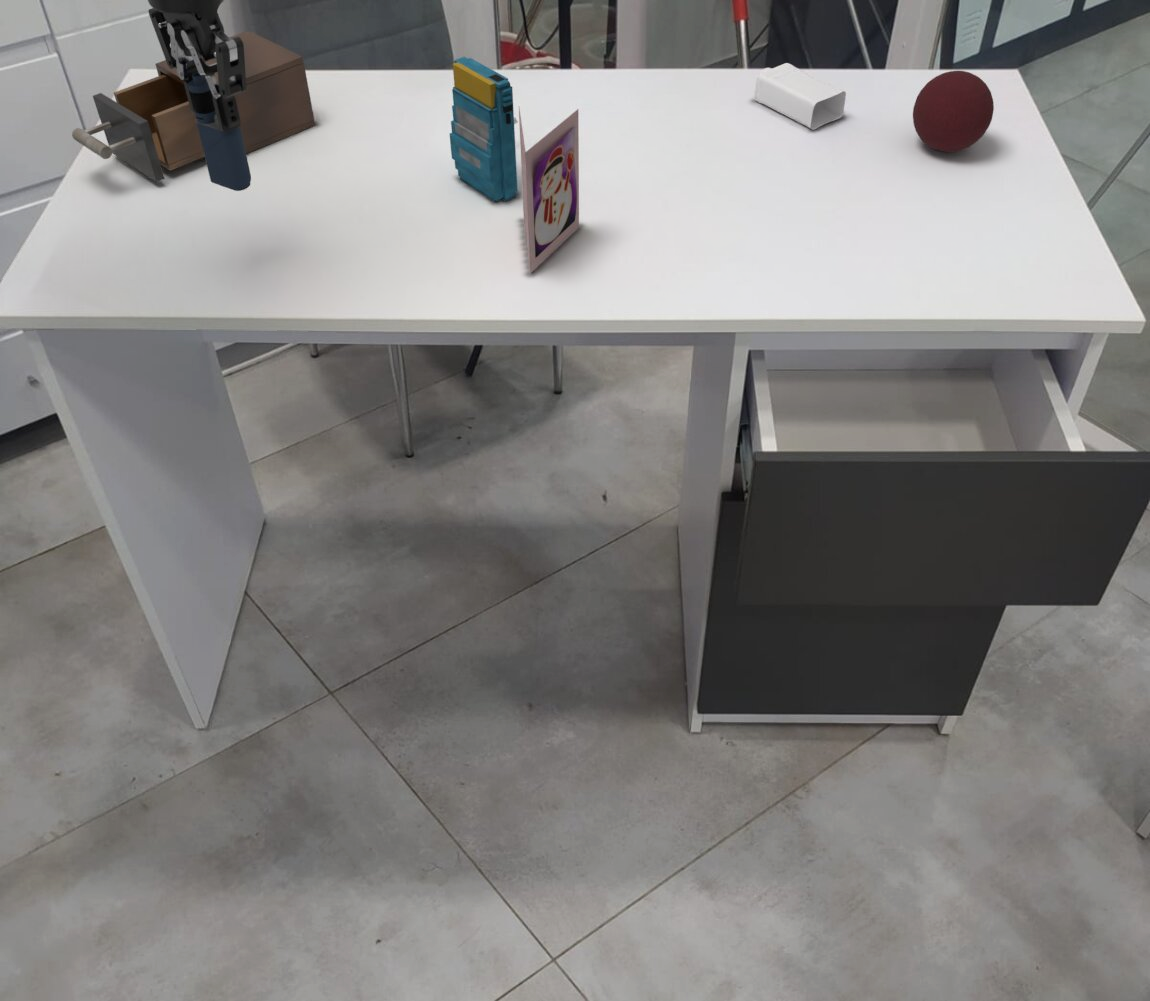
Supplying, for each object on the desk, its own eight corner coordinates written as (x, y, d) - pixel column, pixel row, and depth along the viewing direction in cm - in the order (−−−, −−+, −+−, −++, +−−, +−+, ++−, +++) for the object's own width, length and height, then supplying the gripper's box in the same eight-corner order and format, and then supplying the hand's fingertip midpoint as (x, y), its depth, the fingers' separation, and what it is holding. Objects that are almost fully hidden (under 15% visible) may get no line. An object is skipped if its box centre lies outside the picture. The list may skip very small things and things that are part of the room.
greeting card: (537, 275, 128) (532, 154, 117) (482, 258, 130) (473, 138, 120) (585, 228, 135) (585, 110, 124) (532, 213, 137) (528, 96, 127)
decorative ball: (994, 143, 149) (1014, 70, 142) (964, 173, 143) (984, 99, 136) (924, 123, 153) (941, 51, 146) (893, 151, 148) (908, 78, 141)
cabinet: (225, 163, 147) (208, 92, 140) (174, 132, 153) (154, 63, 146) (315, 125, 154) (302, 56, 147) (262, 97, 160) (248, 30, 154)
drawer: (121, 196, 139) (102, 138, 134) (76, 166, 145) (55, 108, 139) (246, 144, 148) (232, 88, 143) (198, 117, 154) (184, 62, 149)
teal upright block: (521, 196, 140) (516, 80, 130) (495, 207, 138) (487, 91, 128) (476, 167, 145) (467, 53, 135) (450, 177, 144) (439, 63, 133)
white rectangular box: (777, 86, 162) (781, 57, 159) (842, 118, 154) (847, 88, 151) (744, 98, 159) (747, 69, 156) (809, 131, 152) (814, 101, 149)
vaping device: (222, 171, 125) (197, 67, 117) (257, 184, 124) (234, 78, 115) (205, 181, 124) (179, 76, 115) (240, 194, 122) (216, 88, 113)
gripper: (103, -58, 108) (149, 110, 120) (183, -20, 101) (224, 155, 113) (170, -76, 112) (209, 88, 124) (252, -41, 105) (285, 130, 117)
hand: (216, 119), depth 118 cm, fingers closed on vaping device, 5 cm apart
